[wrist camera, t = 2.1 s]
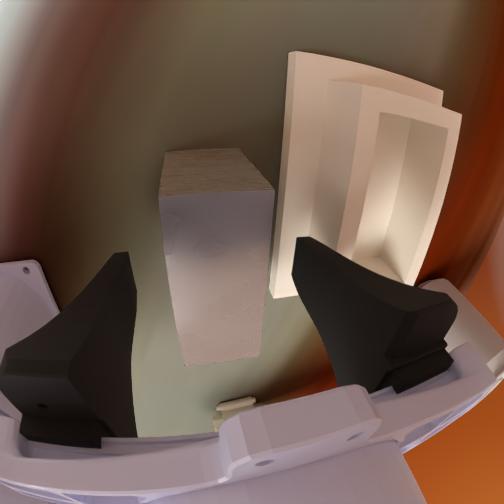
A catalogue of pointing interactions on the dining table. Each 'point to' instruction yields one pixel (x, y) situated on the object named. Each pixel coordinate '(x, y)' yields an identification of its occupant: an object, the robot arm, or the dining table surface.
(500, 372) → the can
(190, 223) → the grey block
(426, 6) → the dining table surface
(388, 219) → the hollow block
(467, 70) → the dining table surface
